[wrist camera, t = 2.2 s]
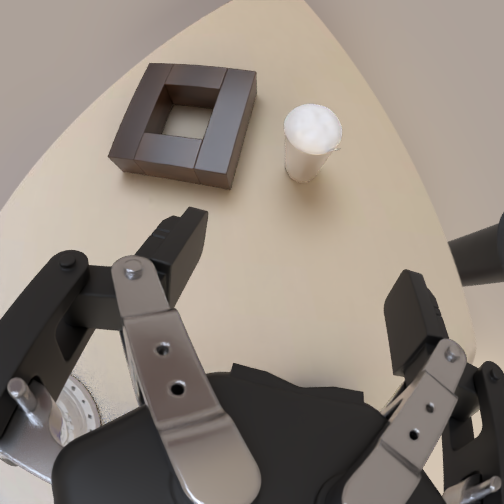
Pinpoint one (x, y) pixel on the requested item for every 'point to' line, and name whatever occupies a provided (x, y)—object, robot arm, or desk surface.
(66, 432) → the mechanical component
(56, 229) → the desk surface
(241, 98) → the socket block
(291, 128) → the milkshake
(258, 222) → the desk surface
